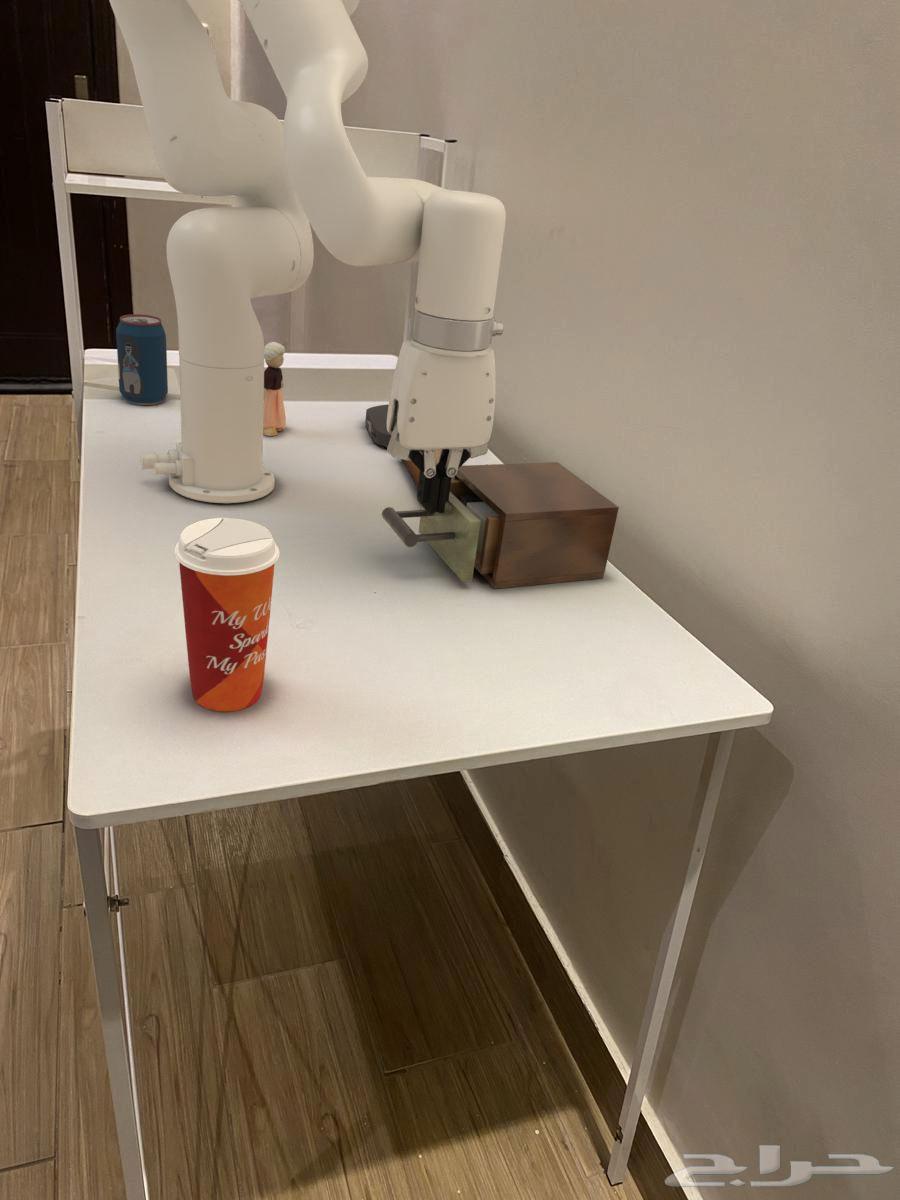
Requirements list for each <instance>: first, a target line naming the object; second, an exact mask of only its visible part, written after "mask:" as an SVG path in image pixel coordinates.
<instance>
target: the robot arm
mask: <svg viewBox="0 0 900 1200" xmlns="http://www.w3.org/2000/svg"><path fill="white" fill-rule="evenodd" d="M108 1H109V3H110V7H111V10H112V12H113V14H114V17H115V19H116V22H117V24H118V27H119V29H120V32H121V35H122V38H123V39H124V40H123V41H124V43H125V45H126V48H127V50H128V54H129V58H130V61H131V64H132V68H133V72H134V76H135V82H136V85H137V89H138V93H139V98H140V102H141V106H142V109H143V113H144V116H145V122H146V124H147V129H148V132H149V136H150V138H151V144H152V147H153V151H154V154H155V158H156V162H157V164H158V167H159V170H160V172H161V175H162V176H163V179H164V181H165V183H167V184H168V185H169V186H170V187H171V188H173V189H174V190H175V191H177V192H179V193H182V194H185V195H190V196H191V195H192V196H201V197H234V198H235V202H236V205H237V206H211V207H202V208H199V209H194V210H191V211H189V212H187V213H184V214H183V215H182V216H181V217H179V218H178V219H177V220H176V221H175V222H174V224H173V225H172V227H171V228H170V230H169V232H168V236H167V240H166V248H165V249H166V251H165V252H166V253H165V254H166V263H167V267H168V273H169V275H170V281H171V286H172V291H173V296H174V301H175V309H176V318H177V319H176V320H177V336H178V337H177V339H178V360H179V396H180V397H179V398H180V399H179V401H180V402H179V403H180V441H181V442H176V443H175V449H168V451H167V452H165V453H157V452H141V453H140V463H141V464H140V466H141V469H142V470H154V475H157V476H158V475H168V485H169V486H170V489H172V490H173V491H174V492H175V493H177V494H179V495H181V496H183V497H185V498H187V499H191V500H195V501H199V502H204V503H211V504H239V503H246V502H252V501H256V500H259V499H261V498H264V497H265V496H268V495H269V494H270V493H271V492H272V491H273V490H274V489H275V481H276V478H275V475H274V474H273V472H272V471H271V470H269V469H268V468H267V467H265V466H263V453H264V452H263V450H264V449H263V447H264V446H263V445H264V434H263V402H264V371H265V359H264V347H265V340H264V339H265V338H264V335H263V330H262V327H261V324H260V323H259V322H260V321H259V320H258V317H257V314H256V313H255V311H254V308H253V305H252V302H251V301H252V300H251V299H256V298H260V297H261V298H262V297H270V296H277V295H283V294H288V293H291V292H294V291H297V290H298V289H299V288H302V286H303V285H304V284H305V283H306V282H307V281H308V279H309V277H310V275H311V273H312V270H313V266H314V259H315V257H314V256H315V251H314V249H315V248H314V240H313V234H312V230H313V232H314V233H315V235H316V237H317V238H318V240H319V241H320V242H321V244H322V245H323V246H324V248H325V249H326V251H328V252H329V254H331V255H332V256H333V257H334V258H335V259H336V260H338V261H340V262H341V263H343V264H346V265H349V266H354V267H372V266H381V265H388V264H389V265H390V264H391V265H392V264H394V265H397V264H409V263H410V264H411V263H418V266H417V267H418V268H417V279H416V289H415V290H416V291H415V300H414V310H413V321H412V331H411V339H410V340H409V339H407V340H403V341H402V343H401V347H400V350H399V353H398V357H397V361H396V364H395V369H394V373H393V377H392V383H391V387H390V395H389V399H388V404H389V406H388V414H387V431H388V432H389V433H390V434H391V438H390V441H389V444H388V447H386V448H387V449H386V450H387V453H388V454H389V455H390V456H391V457H392V458H395V459H398V460H401V459H403V460H409V461H412V462H413V463H414V464H415V466H416V467H417V468H418V469H419V470H420V472H419V482H418V489H417V492H416V498H417V501H418V502H419V504H420V505H421V507H422V506H423V508H424V509H425V510H426V511H427V512H428V513H429V514H434V513H435V512H438V513H444V512H445V504H446V502H448V501H449V494H450V486H451V478H452V477H454V476H455V475H456V474H457V471H458V468H460V467H461V466H464V464H465V463H466V462H468V460H469V459H474V458H478V457H481V456H485V455H486V454H487V453H488V451H489V447H488V443H489V441H490V439H491V436H492V432H493V425H494V419H495V407H496V390H497V389H496V388H497V387H496V385H497V384H496V383H497V382H496V380H497V379H496V361H495V360H496V359H495V350H494V349H493V348H492V347H490V345H492V341H493V337H495V336H502V335H503V333H504V323H503V322H502V321H499V320H498V321H497V320H495V317H494V311H495V310H494V309H495V303H496V297H497V289H498V282H499V276H500V275H499V274H500V269H501V268H500V267H501V261H502V260H501V259H502V254H503V253H502V252H503V245H504V238H505V231H506V230H505V229H506V222H507V221H506V220H507V212H506V208H505V205H504V204H503V202H502V201H501V199H499V198H497V197H495V196H492V195H489V194H485V193H479V192H474V191H473V192H472V191H466V190H465V191H464V190H454V189H447V188H444V187H441V186H438V185H436V184H433V183H430V182H429V181H428V182H427V181H424V180H421V179H416V178H408V177H407V178H406V177H403V178H402V177H391V176H389V177H388V176H367V174H366V172H365V171H364V169H363V167H362V165H361V163H360V161H359V159H358V156H357V155H356V152H355V151H354V149H353V146H352V144H351V142H350V139H349V137H348V135H347V132H346V129H345V125H344V121H343V116H342V104H343V103H344V102H345V101H347V100H348V99H349V98H350V97H351V96H353V95H354V94H355V92H357V91H358V89H359V88H360V87H361V85H362V84H363V82H364V80H365V79H366V77H367V74H368V71H369V57H368V54H367V51H366V49H365V47H364V45H363V43H362V40H361V38H360V37H359V35H358V32H357V31H356V28H355V26H354V24H353V22H352V20H351V18H350V17H351V16H352V15H353V14H354V12H355V11H356V9H357V8H358V6H359V4H360V1H361V0H238V1H239V2H240V4H241V6H242V8H243V10H244V12H245V14H246V16H247V19H248V21H249V23H250V25H251V28H252V29H253V31H254V32H255V35H256V37H257V40H258V41H259V43H260V45H261V47H262V50H263V52H264V53H265V55H266V58H267V59H268V62H269V64H270V66H271V67H272V71H273V73H274V75H275V77H276V79H277V80H278V83H279V84H280V87H281V89H282V91H283V94H284V96H285V99H286V108H285V113H284V118H283V123H282V122H281V121H280V119H279V118H278V117H277V116H276V115H275V114H274V113H273V112H272V111H271V110H269V109H267V107H264V106H262V105H259V104H257V103H253V102H249V101H240V100H233V99H230V97H229V96H228V95H227V92H226V90H225V88H224V84H223V80H222V77H221V74H220V70H219V65H218V59H217V55H216V52H215V49H214V46H213V43H212V41H211V38H210V36H209V34H208V32H207V30H206V28H205V27H204V25H203V23H202V21H201V19H200V18H199V16H198V15H197V14H196V12H195V11H194V9H193V8H192V6H191V5H190V3H189V2H188V0H108ZM311 228H312V229H311ZM394 412H395V413H394ZM435 449H440V451H439V455H438V459H437V465H436V455H435Z"/></svg>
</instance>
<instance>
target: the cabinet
mask: <svg viewBox="0 0 900 1200" xmlns="http://www.w3.org/2000/svg"><path fill="white" fill-rule="evenodd" d="M458 479H460V480H461V481H462V482H463V483H464V484H466V485H467V486H468V487H469V488H470V489H471V490H472V491H473V492H474V493H475V494H476V495H477V496H479V497H480V498H481V499H482V500H483V501H484V502H485V503H486V504H487V505H488V506H489V507H490V508H492V509H493V510H494V511H495V512H496V513H497V514H498V515H499V516H500V517H501V518H502V520H501V527H500V533H499V540H498V546H497V552H496V559H495V565H494V572H493V573H488V574H481V573H480V572H479V571H478V570H477V569H476V571H477V572H478V573H479V574H480V575H481V577H483V578H484V579H485V581H487V583H488V584H489V585H490V586H491V587H492V588H493V589H494V590H495V589H496V590H497V589H498V590H499V589H508V588H518V587H527V586H537V585H548V584H558V583H568V582H577V581H579V582H580V581H588V580H590V581H591V580H599V579H604V577H605V572H606V569H607V568H606V567H607V565H608V564H607V563H608V559H609V555H610V554H609V553H610V551H611V546H612V540H613V536H614V532H615V528H616V523H617V519H618V513H619V509H620V507H619V506H618V505H616V504H615V503H614V502H613V501H611V500H610V499H608V497H605V495H603V494H602V493H601V492H599V491H598V490H596V489H595V488H594V487H592V486H591V485H589V484H588V483H586V481H584V480H582V479H581V478H580V477H579V476H577V475H576V474H575V473H573V472H572V471H570V470H569V469H567V468H566V467H565V466H564V465H562V464H560V462H558V461H549V462H525V463H523V462H521V463H498V464H497V463H496V464H473V465H471V464H469V465H467V464H466V465H462V466H461V467H460V468H458V471H457V474H456V475H455V476H454V477H452V480H458Z"/></svg>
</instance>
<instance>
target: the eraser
mask: <svg viewBox="0 0 900 1200" xmlns="http://www.w3.org/2000/svg"><path fill="white" fill-rule="evenodd" d="M460 502H461V503H462V504H463V505H464V506H465V507H466V508H467V509H468V510H470V511H471V512H472V513H473V514H474V515H475V516H476V517H477V518H478V519H479V520H480V521H481V523H480V530H479V537H478V544H477V551H478V552H479V553H480V554H481V550H482V543H483V536H484V529H485V522H486V517H489V516H499V515H498V514H497V513H496V512H495V511H494V510H493V509H492V508H490V507H489V506H488V505H487V504H486V503H485V502H484V501H483V500H482V499H481V498H480V497H479V496H477V495H460Z"/></svg>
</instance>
